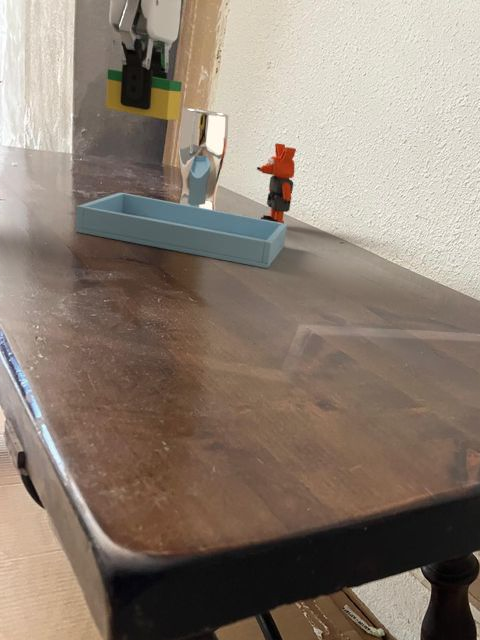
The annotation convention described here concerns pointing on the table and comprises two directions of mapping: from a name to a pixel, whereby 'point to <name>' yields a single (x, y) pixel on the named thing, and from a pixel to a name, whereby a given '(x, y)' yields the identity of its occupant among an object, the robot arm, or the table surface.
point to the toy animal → (279, 182)
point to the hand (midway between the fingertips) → (143, 105)
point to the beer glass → (202, 156)
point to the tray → (183, 228)
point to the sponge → (162, 97)
